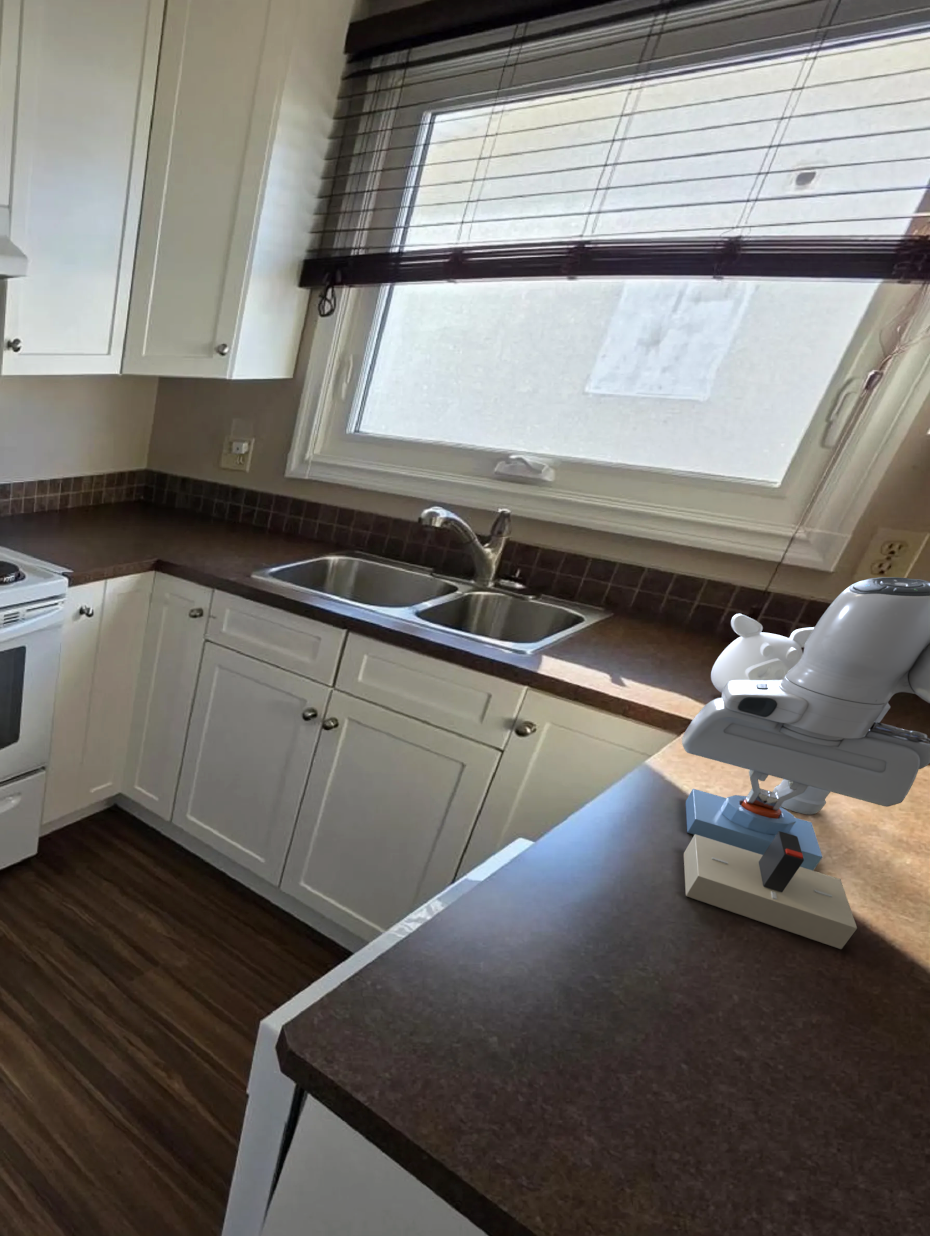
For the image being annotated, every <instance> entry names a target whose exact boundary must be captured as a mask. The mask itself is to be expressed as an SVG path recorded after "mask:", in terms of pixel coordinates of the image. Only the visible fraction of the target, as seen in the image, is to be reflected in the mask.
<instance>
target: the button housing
mask: <svg viewBox="0 0 930 1236" xmlns="http://www.w3.org/2000/svg"><path fill="white" fill-rule="evenodd" d="M746 798H747V795H739V794H735V795H730V796H727V797H724V796H720V795H717V794H714V793H710V792H706V791H703V790H700V789H696V788H692V789H691V792H690V793H689V795H688V797H687V798H686V800H685V815H686V832H687V834H690V835H693V836H694V835H695V834H696V835H699V836H703V837H706V838H709V839H712V840H716V841H719V842H722V843H725V844H728V845H732V846H735V847H738V848H741V849H745V850H748V851H751V852H754V853H758V854H761V855H763V854H764V853H765V851H766V850H767V848H768V847H769V845H770V844H771V842H772V841H773V839H774V837H775V836H776V834H777V833H778V831H780V832H784V833H787V834H791V835H794V836H797V837H798V841H799V844H800V848H801V851H802V855H803V858H804V861H803V863H802V864H801V866H800V867H803V868H806V869H809V870H813V871H815V869H816V868H817V866H818V865H819V863H820V862H821V860H822V859H823V854H822V851H821V847H820V845H819V841H818V838H817V835H816V832H815V828H814V826H813V822H811V821H809V820H805V819H802V818H798V817H795V815H794V814H792V813H791V812H790V811H789V810H787V809H786V808H784V807H780V808H779V809H780V810H781V814H780V816H779V817H778V819H776V818H768V817H765V816H761V815H758V814H755V813H753V812H751V811H748V810H746V809H745V808H744V807H742V806H741V805H742V803H743V801H744V800H745V799H746Z"/></svg>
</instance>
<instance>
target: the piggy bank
mask: <svg viewBox="0 0 930 1236" xmlns="http://www.w3.org/2000/svg"><path fill="white" fill-rule="evenodd" d="M730 626H731V629H732V630H733V632H734V633H736V634H737V635H738V636H739V637H737V638H736V639H734V640H733V641H732V642H730V644H728V645H727V646H726V647H725V648H724V650H723V651H722V652H721V653H720V654H719V656H718V657H717V659H716V660H715V662H714V664H713V665H712V668H711V672H710V680H711V683H712V685H713V686H714V688H715V689H716V690H717V691H718V692H719V693H721V694H722V691H723V688H724V686H725V685H726V683H727V682H729V681H731V680H783V679H784V677H785V676H786V674H787V673H788V671H789V670H790V669H791V668H793V667H794V666H795V665H796V664H797V663H798V662H799V660H800V659H801V657H802V655H803V652H804V651H803V649H802V648H804V646H805V643H806V641H807V639H808V637H809V636H810V634H811V632H812V631H813V629H814V628H815V626H813V627H802V628H798V629H795V630H793V631H792V632H791V633H790V636H789V637H787V636H783V635H780V634H776V633H770V632H764V631H763V629H764V627H763V625H762V623H761V622H759V621H757V620H756V619H754V618H751V617H749V616H747V615H745V614H742V613H736V614H734V615H733V616H732V617H731V620H730ZM762 631H763V632H762Z"/></svg>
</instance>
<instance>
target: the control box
mask: <svg viewBox="0 0 930 1236" xmlns="http://www.w3.org/2000/svg"><path fill="white" fill-rule="evenodd" d="M762 856H763V855H761V854H758V853H754V852H751V851H748V850H745V849H741V848H738V847H735V846H732V845H728V844H725V843H722V842H719V841H716V840H712V839H709V838H706V837H703V836H699V835H696V834H695V835H694V834H693V837H692V838H691V840H690V842H689V844H688V845H687V847H686V849H685V850H684V852H683V863H684V864H683V868H684V888H685V897H688V898H690V899H693V900H696V901H698V902H701V903H705V904H707V905H710V906H713V907H716V908H720V909H722V910H725V911H729V912H731V913H734V914H736V915H740V916H743V917H746V918H748V919H752V920H754V921H758V922H761V923H763V924H766V925H769V926H772V927H775V928H778V929H781V930H784V931H786V932H790V933H792V934H795V935H798V936H801V937H804V938H807V939H809V940H812V941H815V942H818V943H822V944H825V945H828V946H831V947H833V948H835V949H839V950H842V949H843V948H844V947H845V945H846V944H847V943H848V941H849V940H850V939H851V937H852V936H853V935H854V933H855V932H856V931H857V929H858V927H857V923H856V921H855V917H854V914H853V912H852V909H851V905H850V903H849V900H848V897H847V893H846V891H845V889H844V885H843V882H842V879H841V878H838V877H836V876H832V875H829V874H825V873H822V872H819V871H816V870H809V869H806V868H803V867H799V869H798V870H797V872H796V873H795V874H794V876H793V877H792V879H791V880H790V882H789V883H788V885H787V886H786V888H785V889H784V891H783V892H779V891H776V890H773V889H770V888H767V887H764V886H763V882H762V877H761V872H760V867H759V861H760V859H761V857H762Z"/></svg>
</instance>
